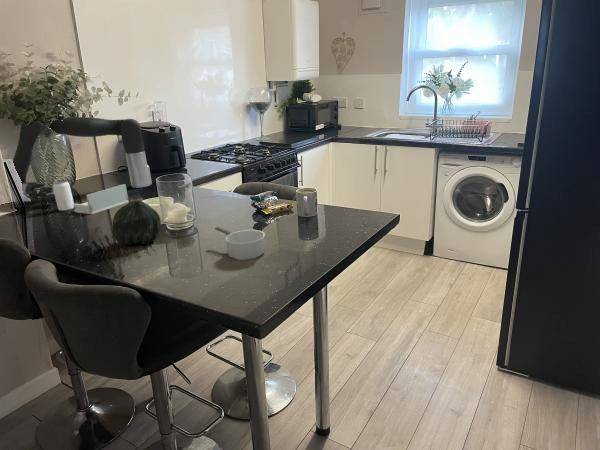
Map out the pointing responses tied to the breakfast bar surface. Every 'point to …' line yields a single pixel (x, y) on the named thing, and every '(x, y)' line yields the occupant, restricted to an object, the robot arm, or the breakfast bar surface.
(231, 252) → the saucepan
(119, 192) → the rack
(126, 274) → the breakfast bar surface
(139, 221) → the squash
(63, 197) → the can
